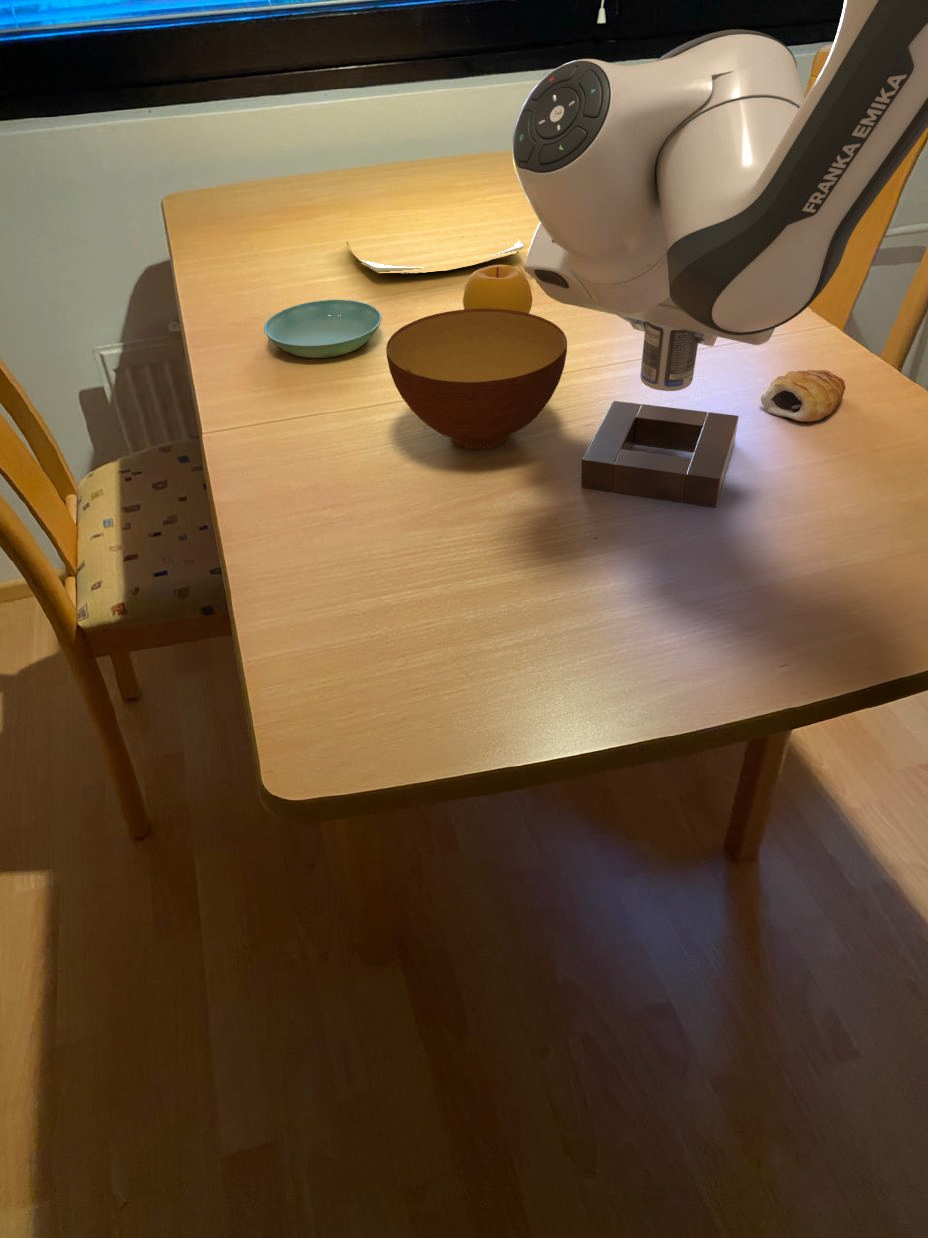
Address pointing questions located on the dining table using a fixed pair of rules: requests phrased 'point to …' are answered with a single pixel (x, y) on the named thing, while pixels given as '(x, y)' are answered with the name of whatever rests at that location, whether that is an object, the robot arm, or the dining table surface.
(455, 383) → the bowl
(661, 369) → the pill bottle
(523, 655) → the dining table surface
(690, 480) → the dock
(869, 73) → the robot arm
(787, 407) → the pastry
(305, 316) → the saucer
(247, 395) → the dining table surface
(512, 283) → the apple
